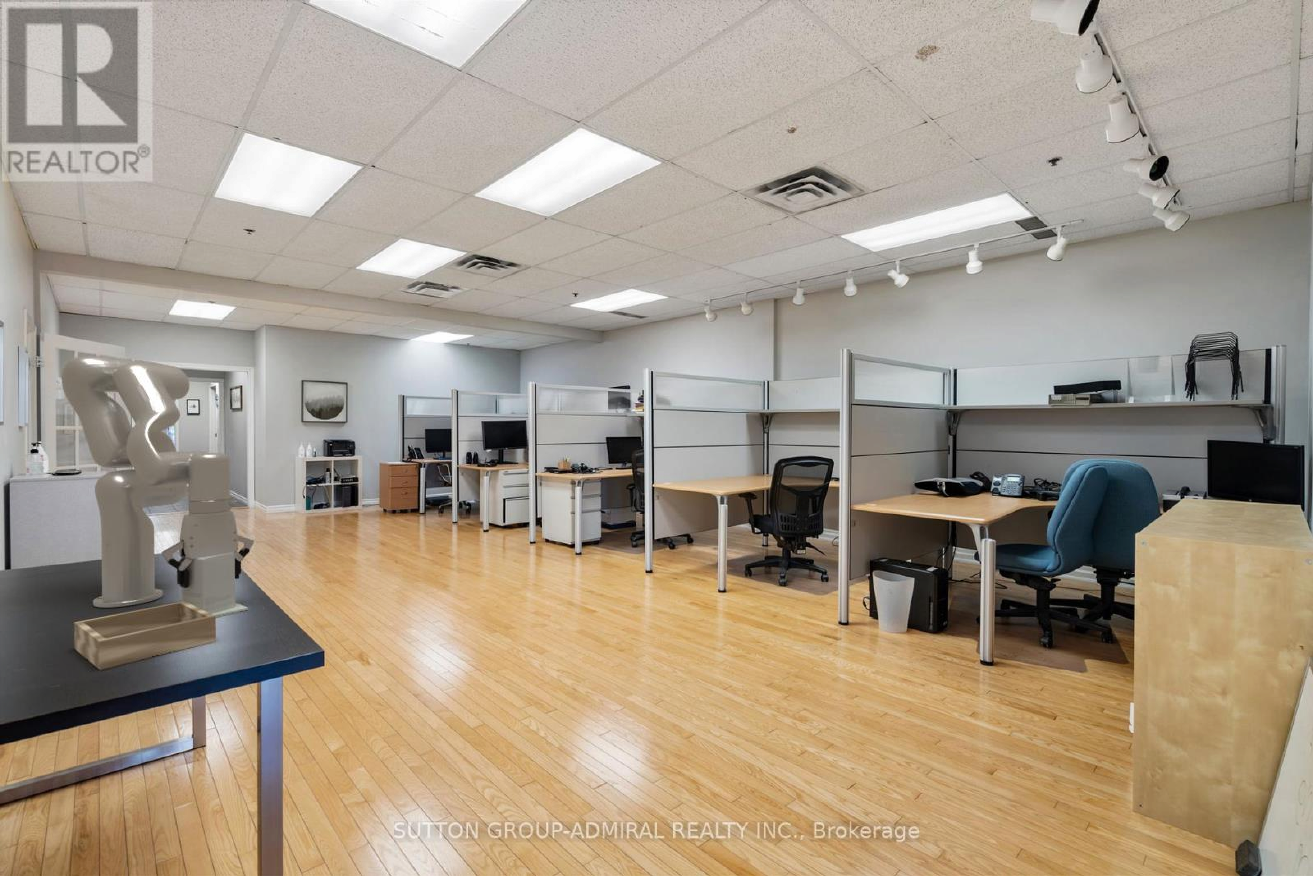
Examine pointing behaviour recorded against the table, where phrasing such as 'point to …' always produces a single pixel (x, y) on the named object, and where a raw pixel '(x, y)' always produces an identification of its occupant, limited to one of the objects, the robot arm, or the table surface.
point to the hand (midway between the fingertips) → (210, 582)
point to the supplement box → (211, 583)
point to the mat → (230, 610)
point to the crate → (143, 634)
